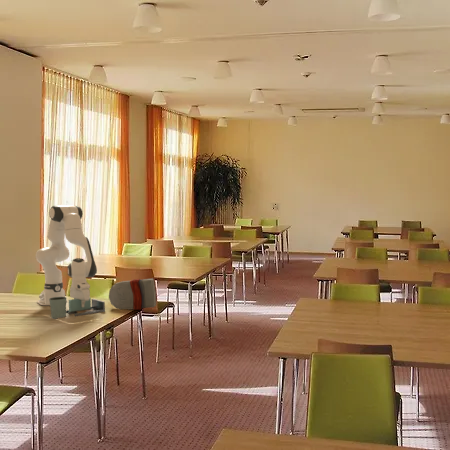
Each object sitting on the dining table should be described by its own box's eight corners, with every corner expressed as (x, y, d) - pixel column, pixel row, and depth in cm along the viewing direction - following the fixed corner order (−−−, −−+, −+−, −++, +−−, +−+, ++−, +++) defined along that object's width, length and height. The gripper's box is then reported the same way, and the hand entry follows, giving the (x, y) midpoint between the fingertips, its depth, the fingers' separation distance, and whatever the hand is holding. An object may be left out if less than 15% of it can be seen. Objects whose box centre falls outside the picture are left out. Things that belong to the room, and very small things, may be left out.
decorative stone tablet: (154, 277, 425) (109, 281, 428) (152, 278, 418) (106, 283, 422) (157, 306, 426) (112, 310, 429) (155, 308, 420) (109, 312, 423)
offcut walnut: (76, 313, 411) (76, 311, 410) (92, 311, 414) (92, 309, 414) (77, 314, 407) (77, 312, 407) (94, 312, 411) (94, 310, 411)
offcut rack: (64, 313, 413) (64, 302, 412) (93, 309, 426) (93, 298, 425) (75, 317, 401) (75, 306, 401) (105, 312, 414) (104, 301, 414)
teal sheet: (69, 314, 413) (68, 299, 412) (89, 311, 421) (88, 297, 421) (70, 314, 411) (70, 300, 410) (90, 311, 420) (90, 297, 419)
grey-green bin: (70, 316, 404) (69, 297, 403) (59, 319, 395) (58, 300, 394) (57, 315, 409) (57, 296, 408) (46, 318, 400) (45, 298, 399)
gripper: (67, 283, 421) (67, 304, 422) (82, 286, 405) (82, 309, 406) (76, 282, 425) (76, 303, 426) (91, 285, 409) (92, 307, 410)
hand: (79, 306), depth 416 cm, fingers open, 6 cm apart
